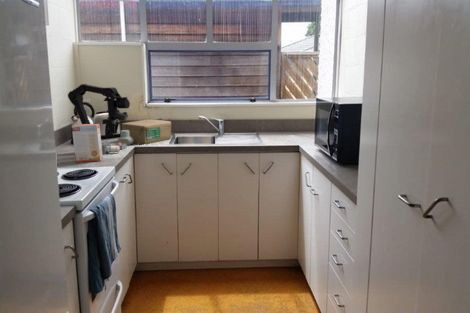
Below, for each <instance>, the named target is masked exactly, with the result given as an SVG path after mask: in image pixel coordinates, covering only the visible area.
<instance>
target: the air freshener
mask: <svg viewBox="0 0 470 313" xmlns="http://www.w3.org/2000/svg"><path fill="white" fill-rule="evenodd" d="M119 134H120V137H118V139H117V140H116V141H117V143H121V144H126V147H127V145H128V146H131V145H132V144H134V143H133V142H134V139H133V138H132V137H130V134H129V130H123V129H122V130H120V133H119Z"/></svg>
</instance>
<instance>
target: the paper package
mask: <svg viewBox="0 0 470 313" xmlns="http://www.w3.org/2000/svg"><path fill="white" fill-rule="evenodd" d="M121 126H122V127H121V128H122V130H129V134H130V137H132V138H133V139H134V142H133V143H132V144H136V145H143V144H146V145H151V144H154V143H160V142H164V141H169V140H171V139H172V121H169V120H162V119H151V118H150V119H149V118H148V119H141V120H135V121H129V122H123V123H122V122H121ZM150 143H151V144H150Z"/></svg>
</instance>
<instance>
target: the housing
mask: <svg viewBox="0 0 470 313" xmlns="http://www.w3.org/2000/svg"><path fill="white" fill-rule="evenodd" d="M101 145H102V155H107V154H109V153H110V152H106V146H111V143H109V142H108V143H107V142H106V143H105V142H104V143H103V142H101Z"/></svg>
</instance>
